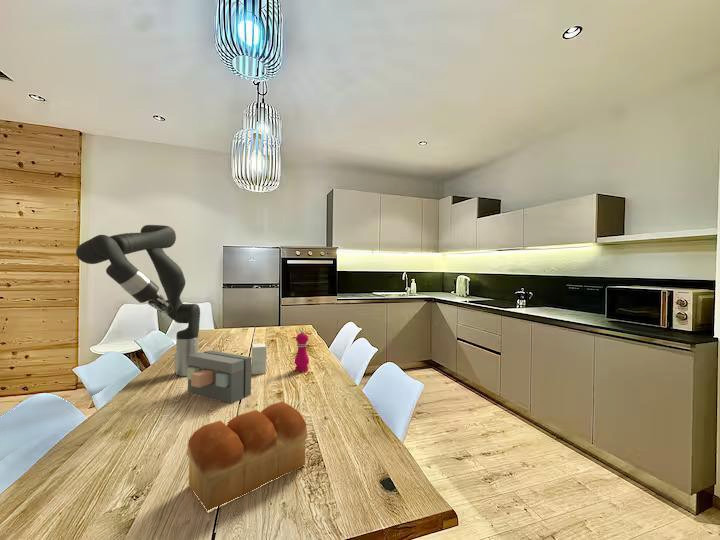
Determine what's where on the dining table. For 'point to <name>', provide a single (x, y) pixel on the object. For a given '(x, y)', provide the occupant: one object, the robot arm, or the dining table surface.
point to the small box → (258, 359)
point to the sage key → (192, 371)
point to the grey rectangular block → (222, 379)
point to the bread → (245, 453)
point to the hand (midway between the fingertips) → (176, 318)
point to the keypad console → (229, 364)
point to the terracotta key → (202, 378)
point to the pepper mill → (301, 352)
